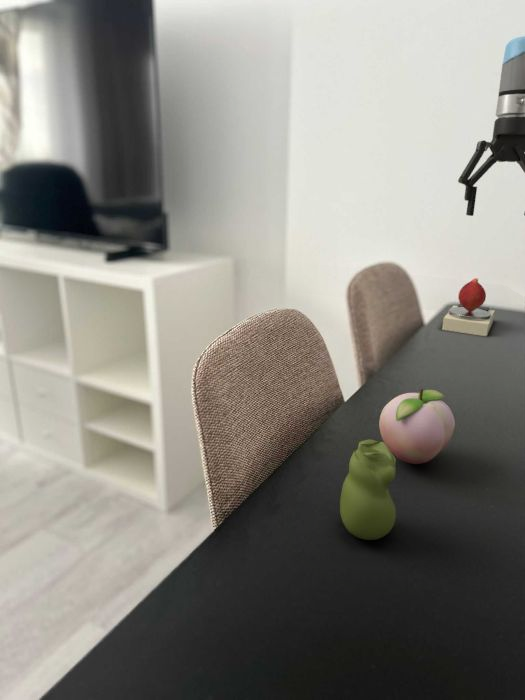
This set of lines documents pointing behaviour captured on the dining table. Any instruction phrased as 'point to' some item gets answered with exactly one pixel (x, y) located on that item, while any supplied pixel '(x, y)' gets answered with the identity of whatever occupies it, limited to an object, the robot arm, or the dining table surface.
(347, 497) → the pear
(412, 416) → the decorative fruit
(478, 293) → the onion
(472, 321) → the scale
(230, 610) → the dining table surface
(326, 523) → the dining table surface
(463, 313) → the scale platform
